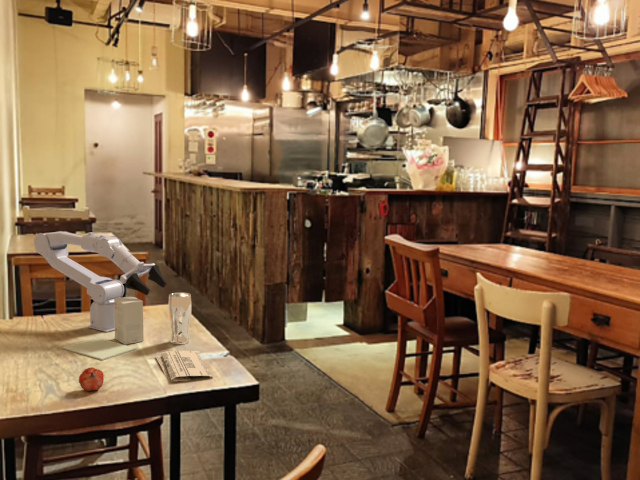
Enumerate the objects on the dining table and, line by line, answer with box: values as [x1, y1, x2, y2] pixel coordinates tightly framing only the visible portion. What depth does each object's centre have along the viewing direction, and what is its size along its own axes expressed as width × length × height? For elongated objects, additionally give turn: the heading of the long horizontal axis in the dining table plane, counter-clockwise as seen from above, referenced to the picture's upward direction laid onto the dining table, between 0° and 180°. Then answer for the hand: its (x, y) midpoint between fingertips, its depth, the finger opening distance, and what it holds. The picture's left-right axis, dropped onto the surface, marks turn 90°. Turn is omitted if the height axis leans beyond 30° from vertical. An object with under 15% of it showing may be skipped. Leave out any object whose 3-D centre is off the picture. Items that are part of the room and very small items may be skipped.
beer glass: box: [167, 292, 192, 346], centre depth 179 cm, size 7×7×15 cm
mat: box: [62, 337, 137, 361], centre depth 171 cm, size 18×12×1 cm, turn 59°
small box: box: [114, 295, 144, 345], centre depth 180 cm, size 8×6×13 cm
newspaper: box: [155, 350, 213, 383], centre depth 158 cm, size 23×12×2 cm, turn 22°
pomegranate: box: [78, 366, 105, 392], centre depth 141 cm, size 6×6×8 cm
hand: (156, 288), depth 184 cm, fingers open, 7 cm apart
